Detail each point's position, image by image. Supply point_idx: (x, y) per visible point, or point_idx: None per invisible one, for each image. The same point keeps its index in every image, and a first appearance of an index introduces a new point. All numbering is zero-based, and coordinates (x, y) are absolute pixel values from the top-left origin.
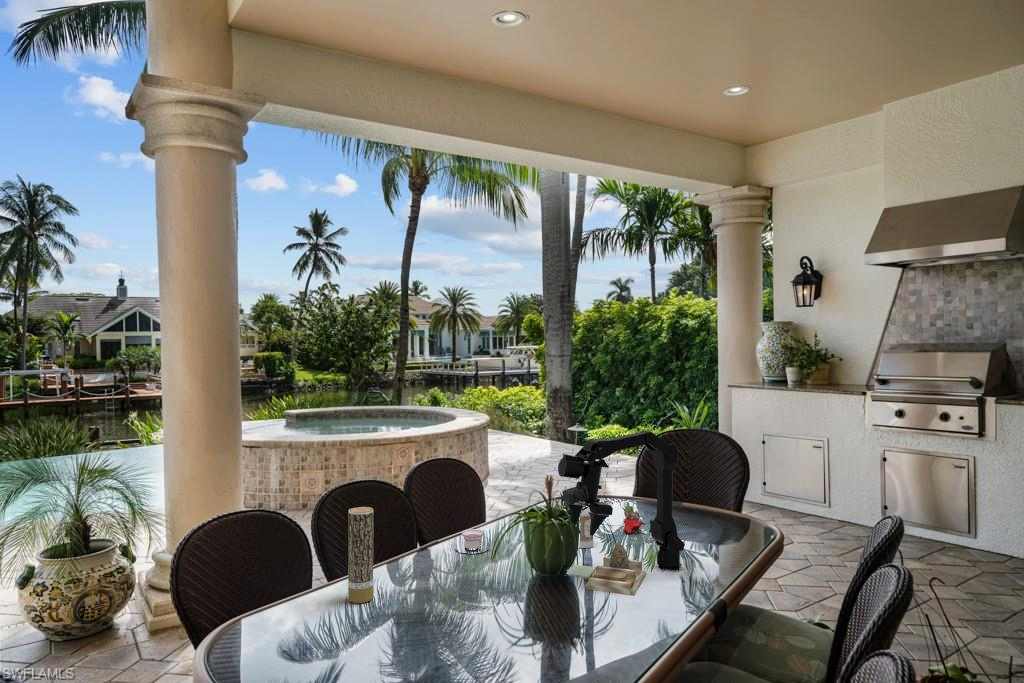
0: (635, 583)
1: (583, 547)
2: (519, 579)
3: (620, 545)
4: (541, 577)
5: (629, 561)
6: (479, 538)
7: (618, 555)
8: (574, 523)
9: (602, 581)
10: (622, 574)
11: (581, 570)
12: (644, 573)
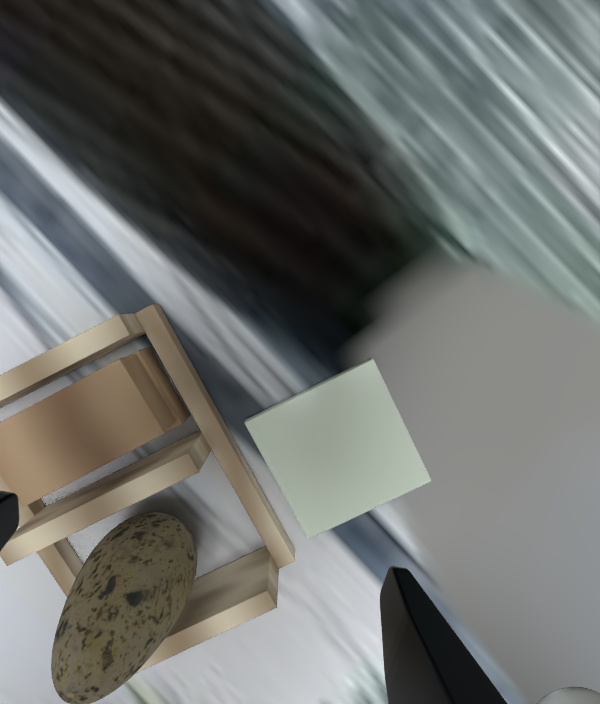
0: None
1: (545, 701)
2: (466, 151)
3: (60, 687)
4: (408, 259)
5: None
6: None
7: (78, 596)
8: (397, 635)
9: (55, 348)
10: (23, 476)
11: (324, 457)
12: None
